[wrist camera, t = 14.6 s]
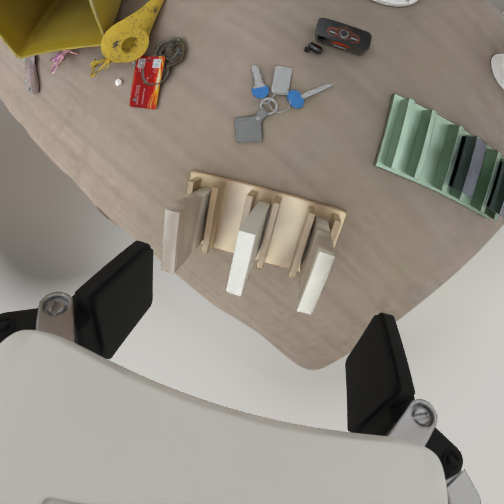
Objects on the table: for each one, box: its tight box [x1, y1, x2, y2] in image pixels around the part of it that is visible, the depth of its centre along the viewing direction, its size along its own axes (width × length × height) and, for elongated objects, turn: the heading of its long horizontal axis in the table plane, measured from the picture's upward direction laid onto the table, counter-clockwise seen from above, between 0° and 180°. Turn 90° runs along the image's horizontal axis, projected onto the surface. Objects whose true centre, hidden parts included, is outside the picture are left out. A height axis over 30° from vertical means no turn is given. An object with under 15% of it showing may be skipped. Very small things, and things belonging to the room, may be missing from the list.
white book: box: [226, 201, 270, 296], centre depth 31 cm, size 2×7×11 cm, turn 167°
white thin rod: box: [115, 53, 145, 86], centre depth 29 cm, size 1×8×1 cm, turn 131°
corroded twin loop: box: [142, 38, 185, 85], centre depth 29 cm, size 5×8×1 cm, turn 140°
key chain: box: [235, 65, 333, 143], centre depth 29 cm, size 14×8×1 cm, turn 131°
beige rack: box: [161, 171, 347, 314], centre depth 32 cm, size 21×10×12 cm, turn 77°
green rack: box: [374, 94, 504, 221], centre depth 25 cm, size 21×10×7 cm, turn 77°
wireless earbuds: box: [304, 18, 371, 56], centre depth 24 cm, size 5×7×3 cm, turn 76°
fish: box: [23, 56, 39, 94], centre depth 30 cm, size 3×14×5 cm
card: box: [130, 56, 165, 109], centre depth 30 cm, size 8×1×5 cm
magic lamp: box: [91, 0, 165, 77], centre depth 25 cm, size 7×18×11 cm
